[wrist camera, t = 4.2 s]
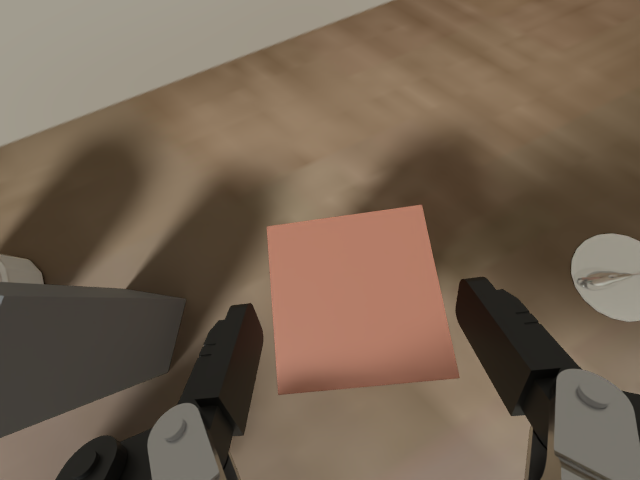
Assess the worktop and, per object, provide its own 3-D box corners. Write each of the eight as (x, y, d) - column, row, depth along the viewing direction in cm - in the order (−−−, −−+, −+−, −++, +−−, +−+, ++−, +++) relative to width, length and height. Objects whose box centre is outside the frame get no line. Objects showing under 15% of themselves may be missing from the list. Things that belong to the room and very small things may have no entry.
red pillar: (318, 341, 16) (278, 394, 7) (310, 267, 17) (266, 226, 8) (394, 333, 16) (459, 378, 6) (381, 258, 17) (421, 204, 8)
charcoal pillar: (104, 359, 17) (-181, 426, 8) (125, 289, 18) (-107, 275, 9) (167, 372, 16) (-61, 461, 7) (186, 298, 17) (4, 295, 8)
